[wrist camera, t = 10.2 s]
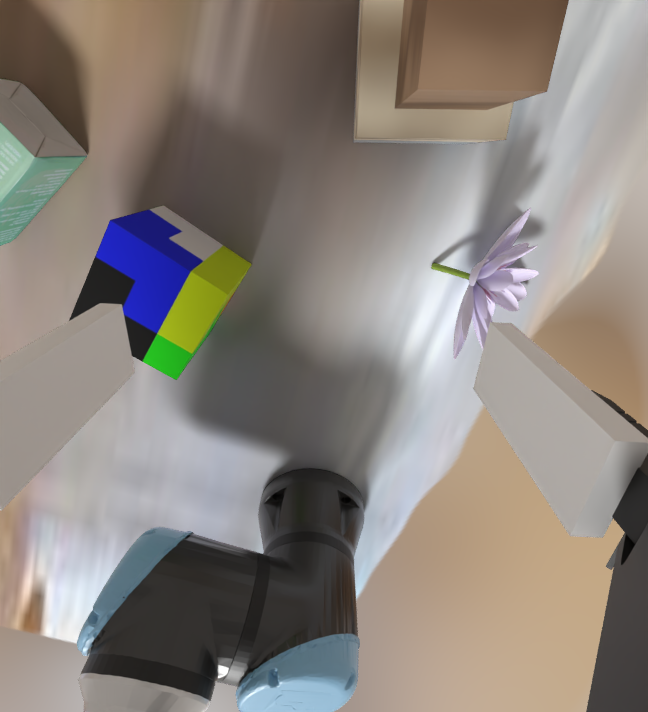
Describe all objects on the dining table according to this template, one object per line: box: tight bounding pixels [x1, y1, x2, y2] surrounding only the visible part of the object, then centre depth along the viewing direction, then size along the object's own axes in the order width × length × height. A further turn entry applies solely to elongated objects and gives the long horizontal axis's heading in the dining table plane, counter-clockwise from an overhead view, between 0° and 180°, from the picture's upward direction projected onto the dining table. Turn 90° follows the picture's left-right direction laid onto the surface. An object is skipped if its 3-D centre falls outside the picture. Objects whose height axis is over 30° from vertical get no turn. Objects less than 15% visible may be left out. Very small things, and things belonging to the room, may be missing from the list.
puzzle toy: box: [69, 205, 252, 380], centre depth 36 cm, size 10×10×10 cm
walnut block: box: [395, 0, 569, 110], centre depth 20 cm, size 6×6×8 cm
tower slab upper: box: [354, 0, 514, 142], centre depth 26 cm, size 10×10×5 cm
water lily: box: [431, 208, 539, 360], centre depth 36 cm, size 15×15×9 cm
